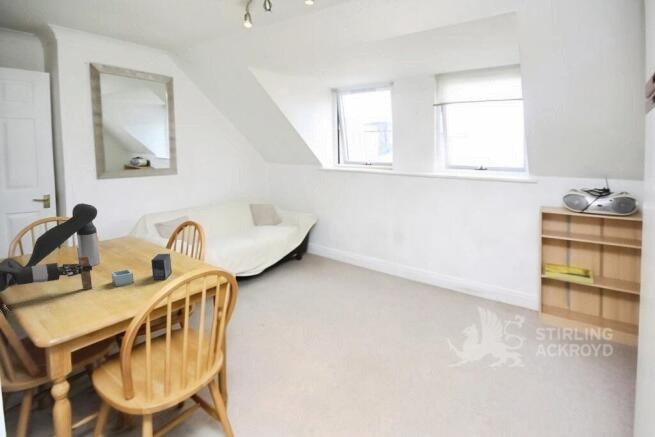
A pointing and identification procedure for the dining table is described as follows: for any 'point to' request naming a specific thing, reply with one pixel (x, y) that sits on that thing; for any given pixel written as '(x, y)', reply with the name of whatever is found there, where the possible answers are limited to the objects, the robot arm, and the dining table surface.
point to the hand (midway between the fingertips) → (90, 267)
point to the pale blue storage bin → (122, 277)
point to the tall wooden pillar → (85, 273)
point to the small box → (161, 266)
